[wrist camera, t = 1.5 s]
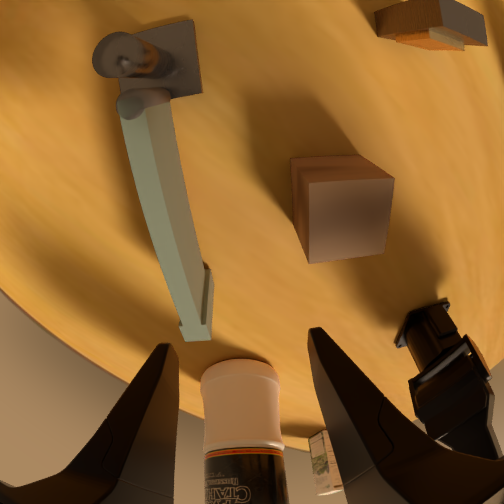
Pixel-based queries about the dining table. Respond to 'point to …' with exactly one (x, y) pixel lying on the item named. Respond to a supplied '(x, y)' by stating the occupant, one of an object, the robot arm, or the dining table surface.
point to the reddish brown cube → (340, 206)
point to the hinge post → (152, 59)
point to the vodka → (243, 434)
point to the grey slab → (167, 205)
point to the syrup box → (324, 465)
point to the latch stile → (432, 24)
